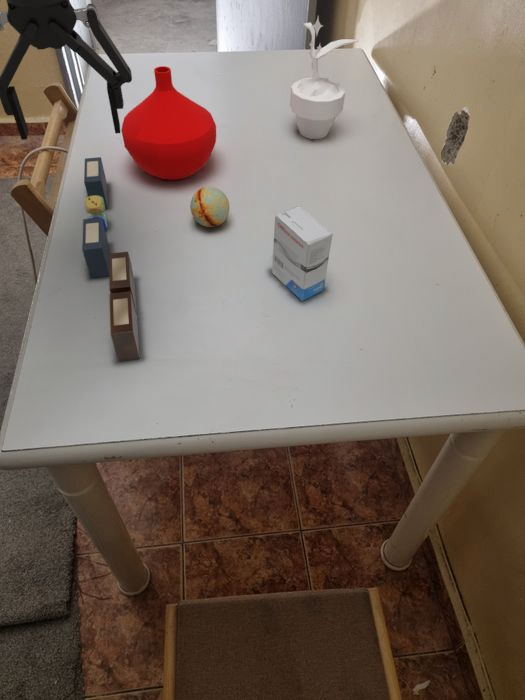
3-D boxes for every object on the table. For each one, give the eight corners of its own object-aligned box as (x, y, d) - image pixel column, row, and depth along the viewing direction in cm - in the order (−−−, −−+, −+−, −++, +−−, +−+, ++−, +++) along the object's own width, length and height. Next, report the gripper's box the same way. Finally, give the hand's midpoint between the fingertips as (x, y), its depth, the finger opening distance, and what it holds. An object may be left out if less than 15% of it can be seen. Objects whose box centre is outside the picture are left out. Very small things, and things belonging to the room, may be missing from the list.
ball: (235, 216, 97) (234, 183, 92) (222, 238, 93) (220, 205, 87) (200, 208, 98) (197, 175, 93) (185, 230, 94) (182, 196, 89)
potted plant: (284, 143, 114) (293, 15, 95) (291, 118, 122) (300, -6, 102) (341, 149, 113) (362, 21, 94) (344, 124, 121) (364, 0, 101)
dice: (107, 241, 91) (100, 210, 86) (92, 242, 91) (83, 211, 86) (107, 214, 96) (99, 183, 91) (92, 215, 96) (84, 185, 91)
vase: (201, 137, 115) (194, 43, 100) (230, 181, 104) (228, 83, 90) (119, 153, 110) (100, 56, 95) (141, 200, 99) (124, 100, 85)
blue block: (91, 278, 85) (82, 249, 80) (91, 186, 102) (84, 157, 97) (109, 276, 86) (101, 247, 81) (107, 184, 102) (100, 156, 98)
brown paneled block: (118, 361, 74) (110, 333, 70) (116, 281, 85) (108, 252, 80) (139, 359, 75) (132, 331, 70) (134, 279, 85) (128, 250, 81)
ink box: (324, 290, 85) (334, 233, 76) (300, 302, 83) (308, 244, 74) (293, 261, 89) (299, 203, 80) (270, 272, 87) (273, 213, 78)
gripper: (132, -48, 67) (153, 115, 83) (-77, -45, 63) (-12, 125, 79) (135, -31, 62) (156, 138, 78) (-91, -27, 58) (-19, 150, 74)
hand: (72, 132), depth 79 cm, fingers open, 13 cm apart
